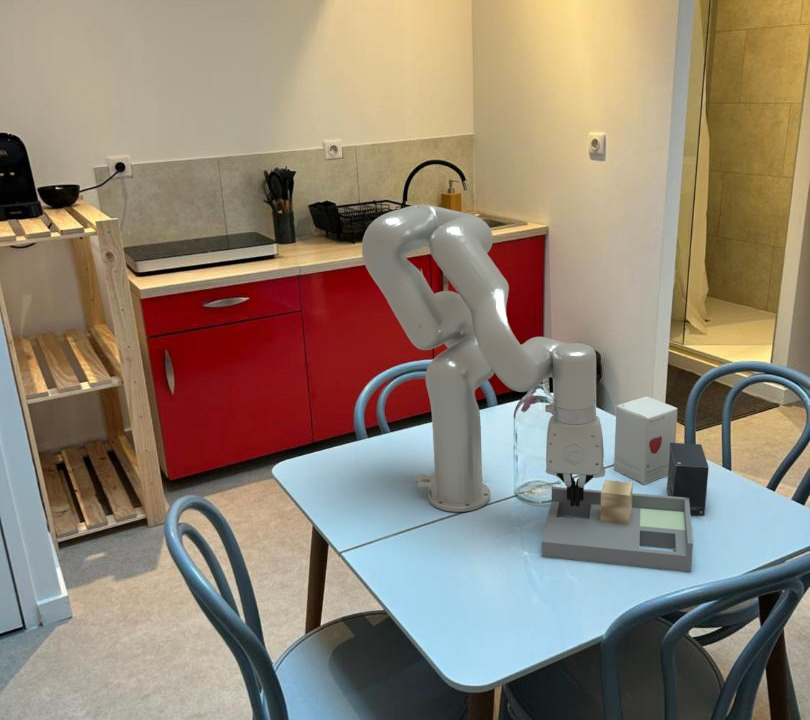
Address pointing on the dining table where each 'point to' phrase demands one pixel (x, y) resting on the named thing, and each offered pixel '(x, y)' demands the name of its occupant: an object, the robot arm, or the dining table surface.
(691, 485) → the small box
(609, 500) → the beech block
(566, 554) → the tray
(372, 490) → the dining table surface
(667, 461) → the supplement box
